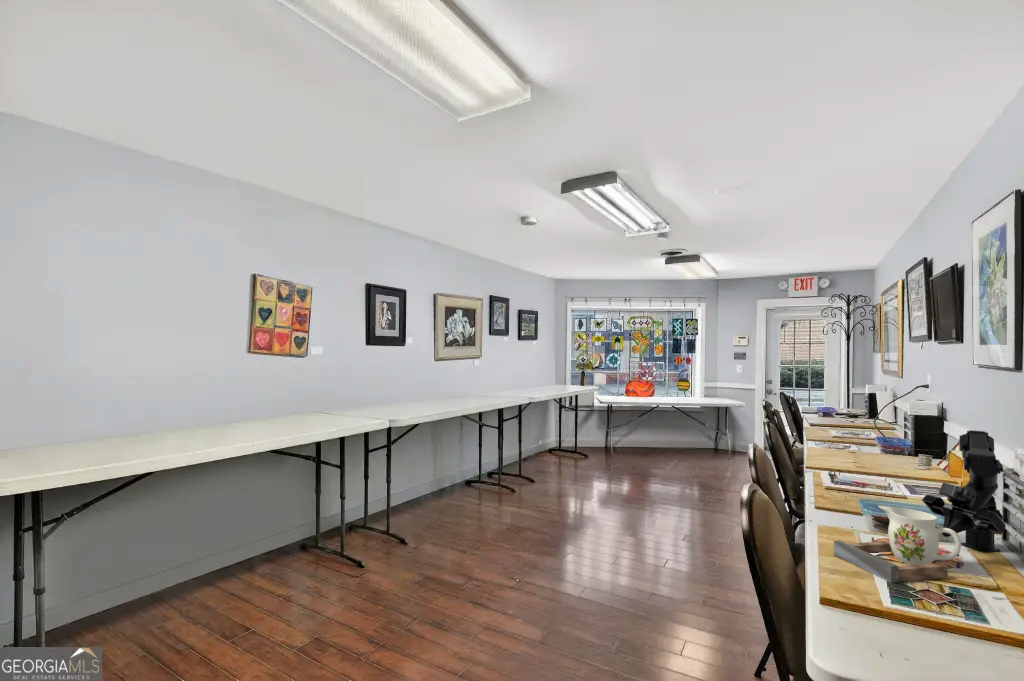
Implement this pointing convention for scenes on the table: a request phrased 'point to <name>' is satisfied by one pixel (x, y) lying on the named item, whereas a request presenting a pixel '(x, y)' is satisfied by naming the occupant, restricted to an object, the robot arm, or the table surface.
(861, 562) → the dock
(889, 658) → the table surface
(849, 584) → the table surface
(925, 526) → the pitcher
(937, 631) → the table surface
